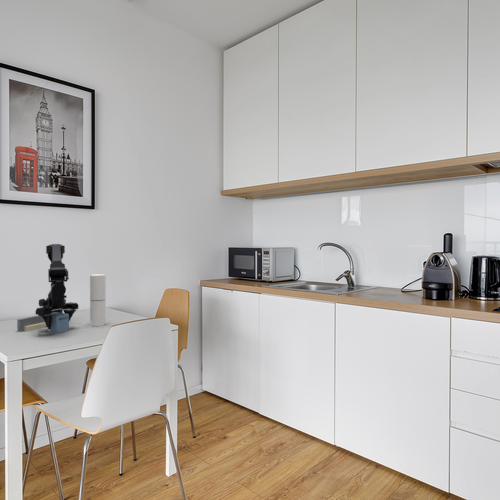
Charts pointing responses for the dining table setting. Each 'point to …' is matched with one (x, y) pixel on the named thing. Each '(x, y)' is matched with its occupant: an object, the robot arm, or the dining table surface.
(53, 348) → the dining table surface
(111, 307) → the dining table surface
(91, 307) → the cylindrical container
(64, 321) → the blue block
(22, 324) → the wall board
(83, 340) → the dining table surface
